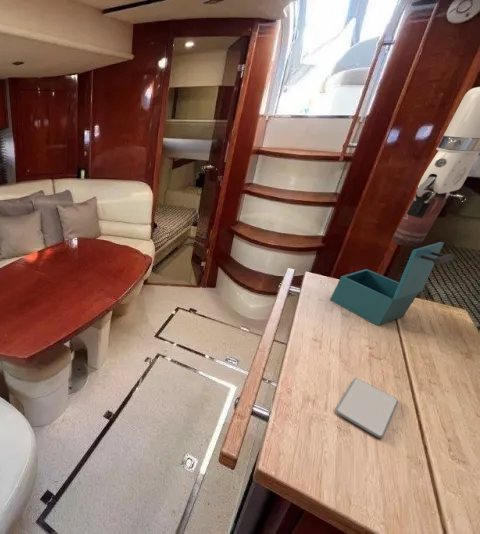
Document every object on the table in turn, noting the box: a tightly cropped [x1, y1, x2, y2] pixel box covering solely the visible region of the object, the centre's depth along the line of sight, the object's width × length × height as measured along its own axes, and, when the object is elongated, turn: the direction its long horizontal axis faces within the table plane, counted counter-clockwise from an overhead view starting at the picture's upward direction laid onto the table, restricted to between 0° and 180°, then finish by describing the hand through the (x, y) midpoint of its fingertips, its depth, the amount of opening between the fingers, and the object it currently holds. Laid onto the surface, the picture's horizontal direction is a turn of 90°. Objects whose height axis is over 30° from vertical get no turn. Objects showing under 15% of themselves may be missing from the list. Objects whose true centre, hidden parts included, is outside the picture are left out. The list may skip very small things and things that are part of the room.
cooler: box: [329, 268, 421, 327], centre depth 99 cm, size 15×13×10 cm
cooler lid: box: [393, 241, 455, 300], centre depth 85 cm, size 15×13×5 cm
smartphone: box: [335, 378, 399, 439], centre depth 70 cm, size 8×1×15 cm
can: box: [391, 193, 447, 248], centre depth 84 cm, size 6×6×14 cm
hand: (422, 213), depth 83 cm, fingers closed on can, 6 cm apart
